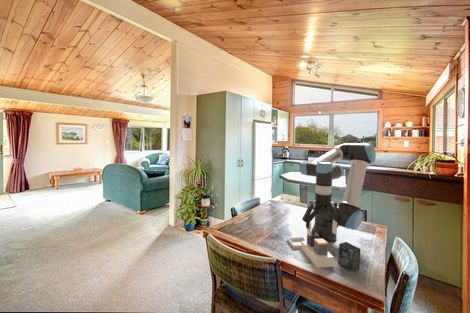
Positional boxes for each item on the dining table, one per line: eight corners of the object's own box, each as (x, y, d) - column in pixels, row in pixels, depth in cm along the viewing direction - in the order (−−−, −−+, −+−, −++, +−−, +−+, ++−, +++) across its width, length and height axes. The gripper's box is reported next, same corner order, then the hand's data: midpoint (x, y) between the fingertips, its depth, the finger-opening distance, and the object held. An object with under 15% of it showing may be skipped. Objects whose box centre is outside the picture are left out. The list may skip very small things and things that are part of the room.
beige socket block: (327, 248, 126) (328, 239, 126) (346, 266, 108) (347, 256, 108) (301, 249, 124) (301, 240, 124) (316, 267, 106) (316, 257, 106)
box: (337, 263, 110) (338, 243, 110) (345, 261, 113) (346, 241, 112) (351, 272, 103) (352, 250, 102) (359, 269, 106) (361, 248, 105)
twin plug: (314, 249, 123) (315, 226, 122) (318, 253, 118) (320, 230, 117) (306, 249, 122) (307, 227, 121) (310, 254, 117) (311, 230, 116)
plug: (322, 257, 114) (323, 238, 113) (327, 262, 109) (328, 243, 109) (313, 257, 114) (314, 238, 113) (318, 262, 109) (318, 243, 108)
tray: (303, 240, 135) (303, 236, 135) (310, 249, 125) (310, 244, 125) (287, 241, 134) (287, 237, 134) (293, 249, 124) (293, 245, 123)
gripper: (342, 190, 114) (340, 229, 116) (296, 192, 111) (295, 232, 113) (351, 194, 107) (349, 236, 108) (302, 195, 104) (301, 238, 106)
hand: (321, 234), depth 111 cm, fingers open, 13 cm apart
